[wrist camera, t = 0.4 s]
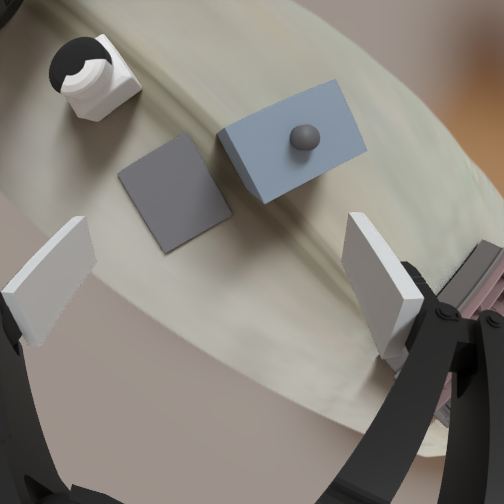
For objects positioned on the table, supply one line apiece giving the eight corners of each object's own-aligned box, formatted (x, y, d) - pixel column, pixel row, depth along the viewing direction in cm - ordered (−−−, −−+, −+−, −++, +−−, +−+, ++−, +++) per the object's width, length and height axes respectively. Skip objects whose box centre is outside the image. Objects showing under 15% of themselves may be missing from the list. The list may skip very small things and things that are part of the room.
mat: (118, 173, 36) (117, 173, 35) (187, 131, 36) (186, 131, 35) (165, 251, 40) (165, 253, 39) (232, 214, 40) (232, 214, 39)
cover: (216, 133, 36) (226, 126, 25) (299, 94, 36) (342, 75, 25) (246, 189, 39) (268, 207, 28) (325, 148, 39) (375, 151, 28)
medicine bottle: (72, 83, 30) (30, 64, 19) (116, 50, 30) (89, 16, 19) (97, 123, 33) (60, 115, 22) (143, 89, 33) (123, 65, 22)
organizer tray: (432, 410, 67) (451, 433, 58) (372, 352, 53) (399, 384, 44) (507, 327, 63) (529, 343, 54) (478, 232, 50) (514, 247, 40)
